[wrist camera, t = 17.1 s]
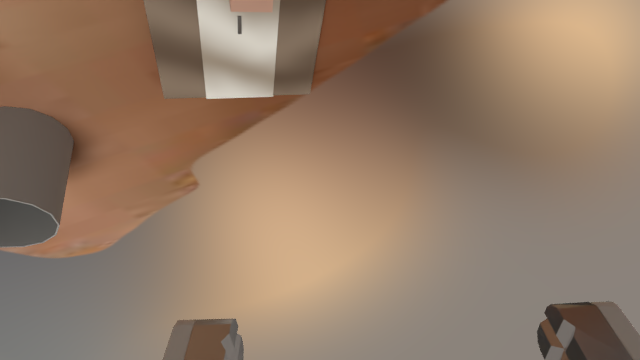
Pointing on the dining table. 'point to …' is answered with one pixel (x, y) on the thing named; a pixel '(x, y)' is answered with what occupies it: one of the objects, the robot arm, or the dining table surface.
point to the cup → (31, 175)
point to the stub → (251, 5)
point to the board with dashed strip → (234, 48)
